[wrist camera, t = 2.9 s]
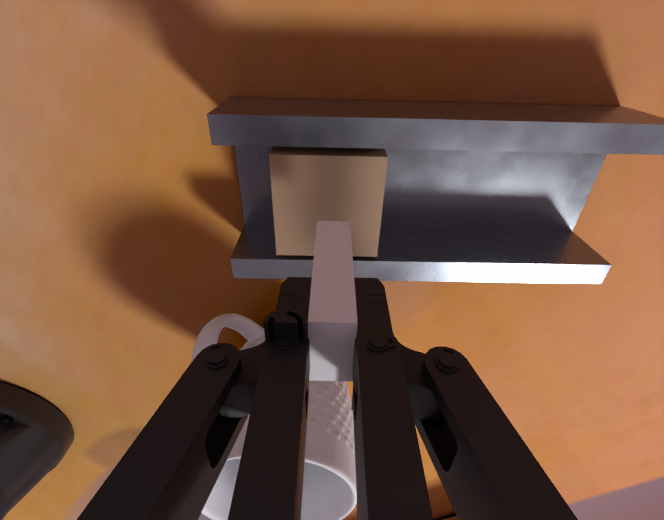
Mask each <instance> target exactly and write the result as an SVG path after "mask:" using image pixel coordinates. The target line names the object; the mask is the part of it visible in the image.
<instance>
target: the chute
mask: <svg viewBox="0 0 664 520" xmlns="http://www.w3.org/2000/svg"><path fill="white" fill-rule="evenodd" d="M207 117H208V123H209V129H210V136H211V142H212V145H234V146H235V154H236V162H237V170H238V178H239V186H240V194H241V202H242V209H243V217H244V228H243V230H242V233H241V235H240V237H239V240H238V242H237V244H236V247H235V249H234V251H233V254H232V256H231V258H230V260H231V266H232V272H233V278H253V279H287V278H288V277H312V270H313V259H314V256H305V255H276V242H275V229H274V216H273V202H272V189H271V176H270V162H269V153H270V151H271V149H272V147H273V146H284V147H330V148H377V149H385V151H386V153H387V156H388V162H387V171H386V181H385V190H384V199H383V208H382V217H381V226H380V235H379V244H378V253H377V257H364V256H353V268H354V278H378V279H379V281H441V282H504V283H567V284H601V283H602V281H603V280H604V278H605V276H606V274H607V272H608V271H609V269H610V267H611V264H610V263H608V262H607V261H606V260H605V259H604V258H603V257H601V256H600V255H599V254H598V253H597V252H596V251H594V250H593V249H592V248H591V247H590V246H589V245H588V244H586V243H585V242H584V241H583V240H582V239H581V238H579V237H578V236H577V235H576V234H575V233H574V232H572V231H573V229H574V226H575V224H576V222H577V220H578V217H579V215H580V213H581V211H582V208H583V206H584V204H585V202H586V200H587V197H588V195H589V193H590V191H591V188H592V186H593V184H594V182H595V180H596V177H597V175H598V173H599V171H600V168H601V166H602V164H603V162H604V159H605V157H606V155H607V153H608V154H654V155H664V118H662V117H658V116H655V115H651V114H648V113H644V112H641V111H637V110H634V109H630V108H627V107H623V106H606V105H564V104H522V103H480V102H438V101H396V100H354V99H311V98H269V97H229V98H228V99H227V100H225V101H224V102H223V103H221V104H220V105H219V106H217V107H216V108H215V109H213V110H212V111H210V112H209V113H208V114H207Z"/></svg>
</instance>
